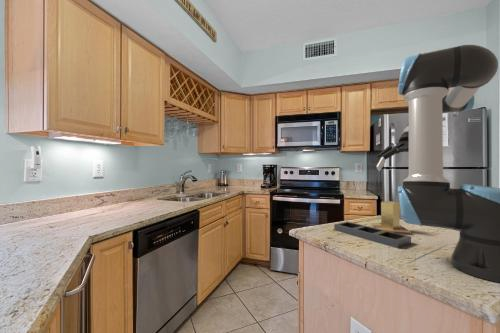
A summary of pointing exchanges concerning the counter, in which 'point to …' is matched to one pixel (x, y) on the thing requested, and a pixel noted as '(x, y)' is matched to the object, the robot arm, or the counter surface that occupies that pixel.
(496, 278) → the robot arm
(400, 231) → the coaster
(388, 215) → the golden rectangular block
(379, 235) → the compartment tray
